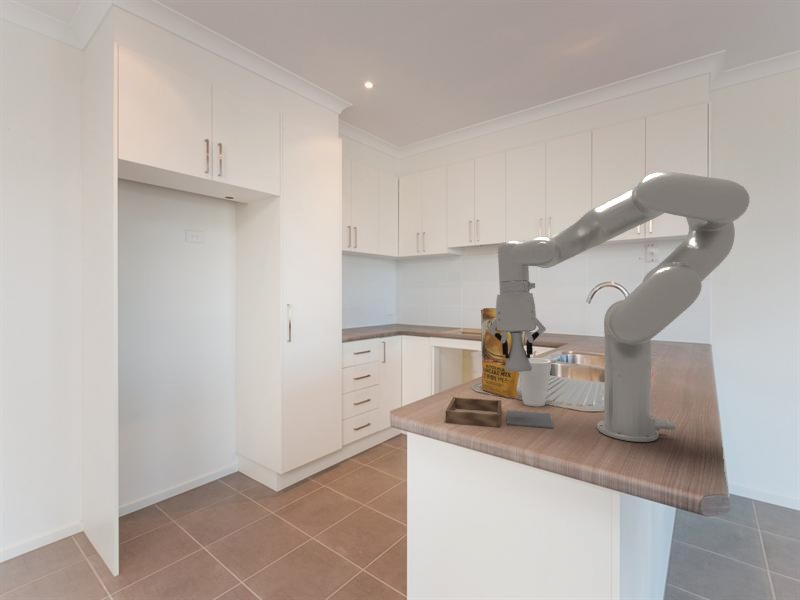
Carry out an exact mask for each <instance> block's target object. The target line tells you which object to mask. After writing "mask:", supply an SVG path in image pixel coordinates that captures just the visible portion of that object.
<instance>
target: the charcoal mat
mask: <svg viewBox="0 0 800 600" xmlns="http://www.w3.org/2000/svg"><path fill="white" fill-rule="evenodd" d="M506 417H507V418H506V425H507V426H517V427H528V428H541V429H554V424H553V421H552V418H551V415H550V413H547V412H537V411H536V412H534V411H521V410H520V411H519V410H507V415H506Z"/></svg>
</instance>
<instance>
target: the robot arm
mask: <svg viewBox="0 0 800 600" xmlns="http://www.w3.org/2000/svg"><path fill="white" fill-rule="evenodd" d="M749 204H750V195H749V192H748V190H747V189H746V188H745V187H744V186H743V185H741V183H738V182H735V181H733V180H729V179H725V178H716V177H708V176H702V175H696V174H691V173H690V174H689V173H683V172H674V171H655V172H652V173H650V174H647V175H645V176H644V177H643V178H642V179H641V180H640V181H639V182H638V184H637V185H636V186H634V187H632V188H630V189H628V190H626V191H625V192H623V193H621V194H619V195H617V196H614V197H612V198H611V199H608V200H607V201H604V202H602V203H601V204H599V205H597V206H595V207H593V208H591V209H590V210H588V211H587V212H586V213H584V214H583V216H581V217H580V218H579V219H578V220H576V221H575V222H574V223H573V224H572V225H570V226H568V227H567V228H565V229H564V230H562V231H560V232H557V233H556V234H554V235H552V236H550V237H549V236H537V237H534V238H528V239H523V240H507V241H503V242H500V243H499V245H498V247H497V258H498V260H497V261H498V282H499V283H498V284H499V294H497V296H496V301H495V302H496V303H495V308H496V320H495V321H494V322H493V324H492V325H491V326H490V328H489V329H488V332H489V333H491V334H492V335H494V336H495V337H496V338H497V339H498V340H499V341H501V343H502V352H503V355H505V358H508V343H507V340H506V337H507V333H508V332H526V338H527V339H526V342H525V345H526V355H527V358H531V355H534V352H533V350H534V348H533V343H534V341H535V340H536V339H538V337H540V335H541V334H543V333H545V331H546V330H547V328H546V327H545V326H544V325H543V323H542V322H541V321H540V320H539V319H538V318H537V313H536V312H537V311H536V304H535V298H534V294H533V292H530V291H531V289H532V290H533V289H536V283H535V282H530V273H529V272H530V271H529V267H537V268H541V269H549V268H552V267H555V266H557V265H558V264H560V263H563V262H566V261H567V260H569V259H572V258H574V257H575V256H578V255H580V254H582V253H584V252H586V251H587V250H589V249H593V248H594V247H598V246H600V245H602V244H604V243H606V242H608V241H611V240H612V239H614V238H616V237H618V236H620V235H622V234H624V233H626V232H628V231H630V230H633V229H635V228H636V227H639V226H641V225H643V224H646V223H647V222H650V221H652V220H654V219H656V218H658V217H660V216H662V215H663V214H670V215H673V216H678V217H684V218H686V221H687V224H688V233H687V235H686V237H685V239H684V240H683V241H682V242H681V243H680V244H679V245H678V246H676V248H675V249H674V250H673V251H672V252H671V253H670V254H669V255H668V256H667V257H665V258H664V259H663V260H661V262H660V263H659V264H658V265H657V266H655V267H654V268H652V269H651V270H650V271H649V272H647V273H646V274H645V275H644V277H643V279H642V281H641V282H640V284H639V285H638V286H637V287H636V288H635V289H634V290H632V291H631V292H630V293H629V294H628V295H627V296H626V297H625V298H624V299H621V300H618V301H616V302H613V303H612V304H611V305H610V306H609V307H608V308H607V309H606V312H605V314H604V319H603V322H604V323H603V332H604V333H603V334H604V400H603V401H604V405H603V406H604V415H603V416H604V417H603V418H604V419H603V420H600V421H598V422H597V424H596V425H597V431H599V432H600V433H601V434H603V435H605V436H607V437H610V438H613V439H618V440H621V441H627V442H637V443H649V442H654V441H657V440H658V439H659V435H660V434H659V431H660V429H661V430H666V431H667V430H668V431H669V430H670V431H675V430H676V422H675V421H672V420H671V421H668V420H665V419H664V418H655V417H654V416H653V415H652V414H651V413H652V404H651V403H652V401H651V400H652V399H651V398H652V391H651V390H652V342H651V340H652V339H653V338H655V337H656V336H657V335H658V334H659V333H661V332H662V331H663V330H665V329H666V328H667V327H669V325H670V324H671V323H672V322H674V321H675V320H676V319H677V318H678V317H679V316H681V315H682V314H683V313H684V312H685V311H687V310H688V309H689V308H690V307H691V306H692V305H693V304H694V303H695V302H696V300H697V299H698V298H699V296H700V294H701V290H702V282H703V281H704V280H706V278H707V277H708V276H709V275H710V274H711V273H712V272H713V271H714V270H716V269H717V267H719V266H720V265H721V264H722V263H723V262H724V260H725V259H726V258H727V257H728V255H729V254H730V252H731V250H732V249H733V246H734V242H735V229H736V228H735V224H734V221H737V220H739V218H740V217H742V216H743V215H744V214H745V213H746V211H747V209H748V207H749ZM496 326H497V330H498V331H501V332H503V333H502V335H500V334H499V333H498V332H496V331H495V328H496ZM536 329H537V330H536ZM532 331H534V332H533V333H532Z"/></svg>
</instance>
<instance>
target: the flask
mask: <svg viewBox="0 0 800 600" xmlns="http://www.w3.org/2000/svg"><path fill="white" fill-rule="evenodd" d="M510 334H511V338H512V341H511V348H510V351H509V355H508V358H507V361H506V365H505V368H504V370H507V371H516V372H523V371H531V370H532V367H531V364H530V362H529V360H528V358H527V351H526V349H525V346H524V347H523V343H522V334H523V332H510Z"/></svg>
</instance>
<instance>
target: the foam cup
mask: <svg viewBox="0 0 800 600" xmlns="http://www.w3.org/2000/svg"><path fill="white" fill-rule="evenodd" d="M528 360H529V362H530V364H531V367H532V370H531V371H523V372H519V383H520V384H519V385H520V390H521V391H520V393H521V397H522V404H524V405H525V406H530V407H543V406H545V405H546V400H547V393H548V387H549V380H550V373H551V369H552V361H551V360H550V359H547V358H541V357H530V358H528Z"/></svg>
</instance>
